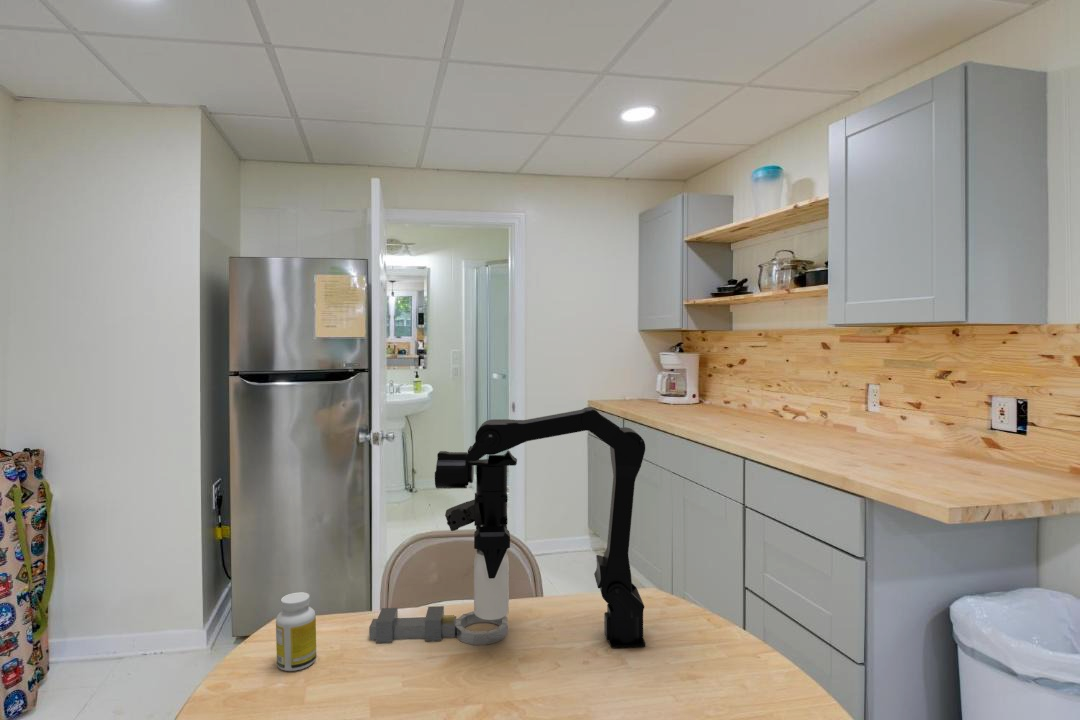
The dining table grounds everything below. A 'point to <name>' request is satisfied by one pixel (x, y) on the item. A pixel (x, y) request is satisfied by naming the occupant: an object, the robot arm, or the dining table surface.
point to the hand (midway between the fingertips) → (491, 571)
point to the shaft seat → (433, 627)
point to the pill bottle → (296, 632)
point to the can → (491, 590)
